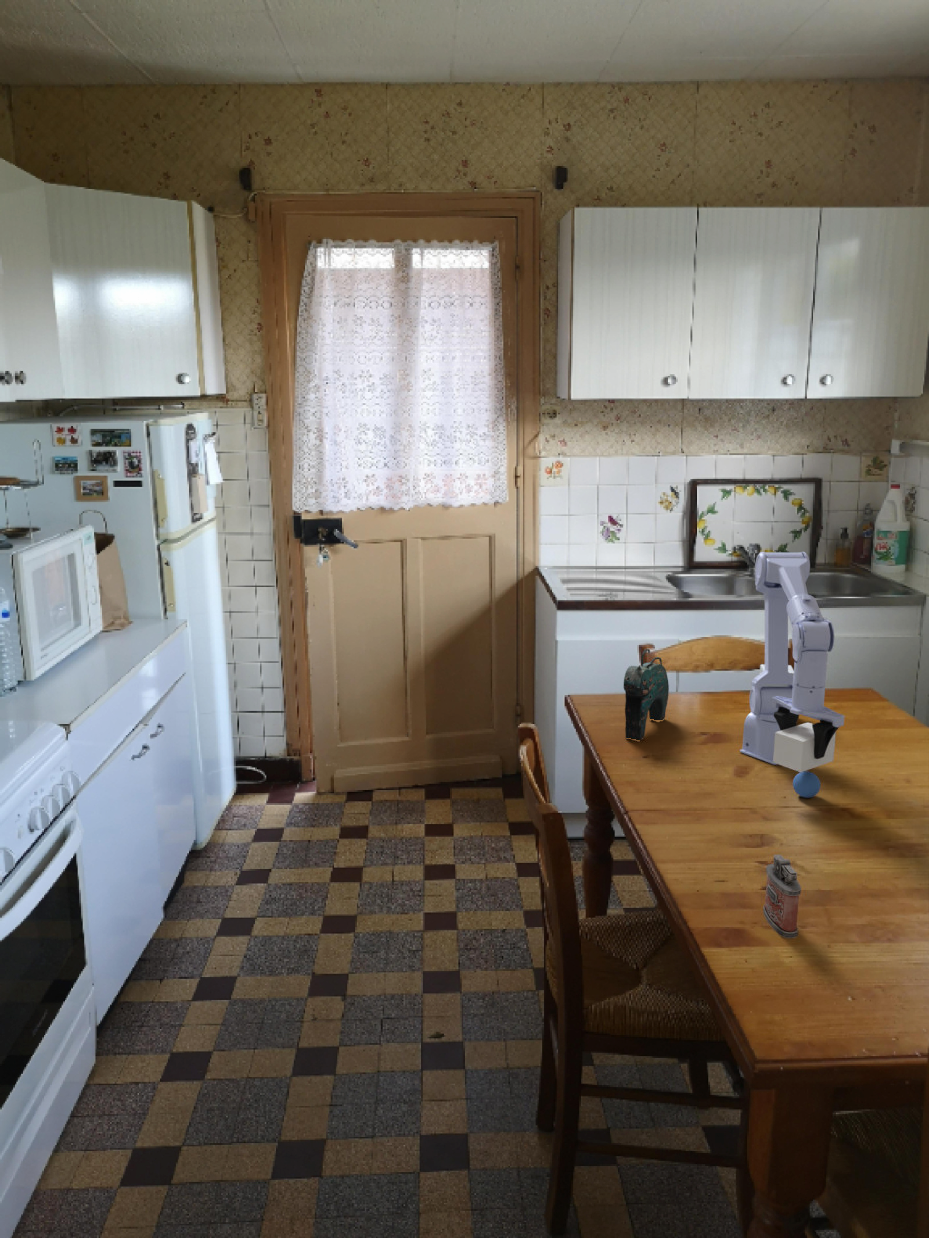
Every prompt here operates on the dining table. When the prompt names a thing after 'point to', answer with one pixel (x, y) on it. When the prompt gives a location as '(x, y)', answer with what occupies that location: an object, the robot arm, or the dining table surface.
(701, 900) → the dining table surface
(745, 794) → the dining table surface
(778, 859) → the lighter
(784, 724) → the robot arm
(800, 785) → the ball
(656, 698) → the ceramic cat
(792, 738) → the white cardboard carton
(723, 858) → the dining table surface
